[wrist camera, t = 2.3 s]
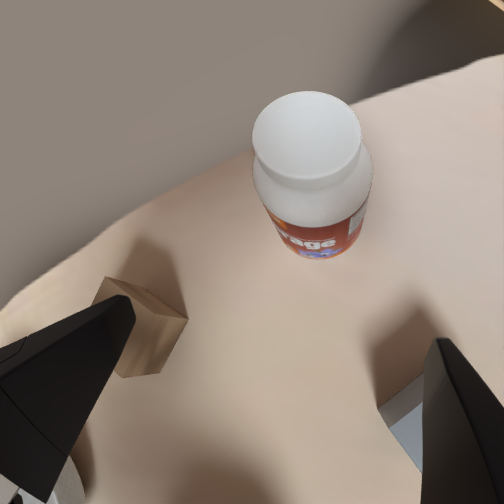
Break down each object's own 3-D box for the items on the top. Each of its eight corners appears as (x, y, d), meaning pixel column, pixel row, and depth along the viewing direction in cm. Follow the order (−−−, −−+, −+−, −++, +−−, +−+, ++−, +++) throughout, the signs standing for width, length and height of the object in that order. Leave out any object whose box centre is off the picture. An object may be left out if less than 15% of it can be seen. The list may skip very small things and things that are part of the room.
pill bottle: (262, 238, 23) (205, 162, 13) (302, 171, 24) (275, 67, 14) (338, 278, 21) (342, 222, 11) (375, 204, 22) (397, 105, 12)
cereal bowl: (100, 552, 19) (61, 575, 12) (11, 469, 24) (-28, 476, 17) (122, 456, 22) (68, 478, 15) (20, 368, 27) (-29, 366, 20)
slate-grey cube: (411, 455, 17) (428, 483, 12) (376, 408, 18) (388, 428, 14) (465, 410, 16) (495, 426, 12) (433, 362, 18) (459, 368, 13)
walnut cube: (160, 372, 23) (122, 378, 18) (117, 338, 24) (77, 335, 20) (189, 319, 23) (154, 313, 19) (143, 287, 25) (105, 276, 20)
